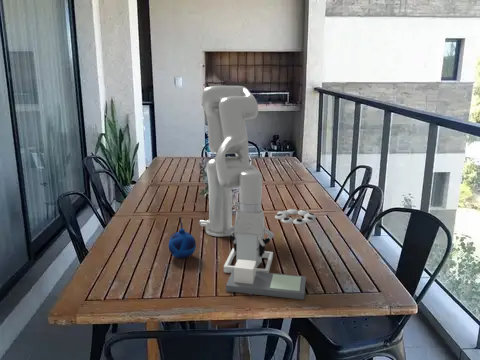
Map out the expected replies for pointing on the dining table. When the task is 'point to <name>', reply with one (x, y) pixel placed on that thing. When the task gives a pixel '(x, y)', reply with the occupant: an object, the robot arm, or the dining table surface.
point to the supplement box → (248, 248)
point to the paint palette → (301, 212)
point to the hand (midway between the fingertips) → (249, 254)
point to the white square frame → (266, 255)
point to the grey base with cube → (264, 282)
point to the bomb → (182, 244)
